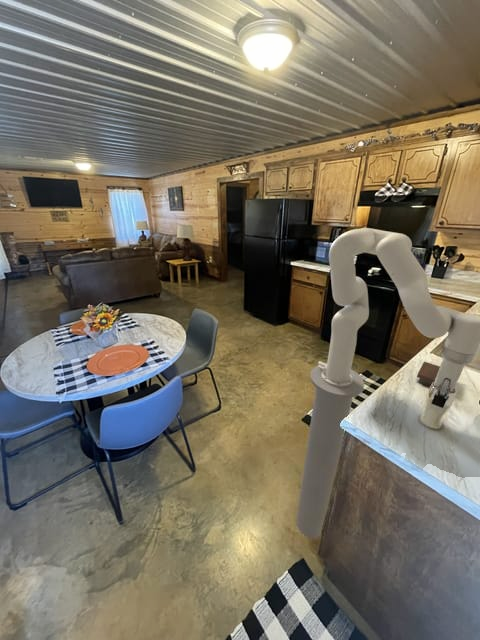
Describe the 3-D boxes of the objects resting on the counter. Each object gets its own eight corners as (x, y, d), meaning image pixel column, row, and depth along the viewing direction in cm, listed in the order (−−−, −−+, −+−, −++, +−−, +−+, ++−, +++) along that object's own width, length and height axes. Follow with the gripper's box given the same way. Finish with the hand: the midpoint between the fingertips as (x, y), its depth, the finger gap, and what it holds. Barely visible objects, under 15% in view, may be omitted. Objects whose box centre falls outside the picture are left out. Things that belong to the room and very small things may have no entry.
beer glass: (439, 433, 86) (454, 397, 80) (415, 421, 91) (428, 386, 85) (444, 422, 91) (459, 387, 84) (421, 411, 95) (434, 378, 89)
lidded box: (414, 382, 111) (417, 373, 109) (421, 369, 119) (424, 361, 118) (449, 395, 103) (453, 386, 101) (453, 380, 112) (457, 372, 110)
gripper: (446, 339, 88) (430, 382, 95) (437, 360, 76) (420, 407, 83) (475, 347, 83) (456, 391, 90) (471, 370, 71) (449, 419, 79)
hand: (439, 399), depth 87 cm, fingers closed on beer glass, 7 cm apart
